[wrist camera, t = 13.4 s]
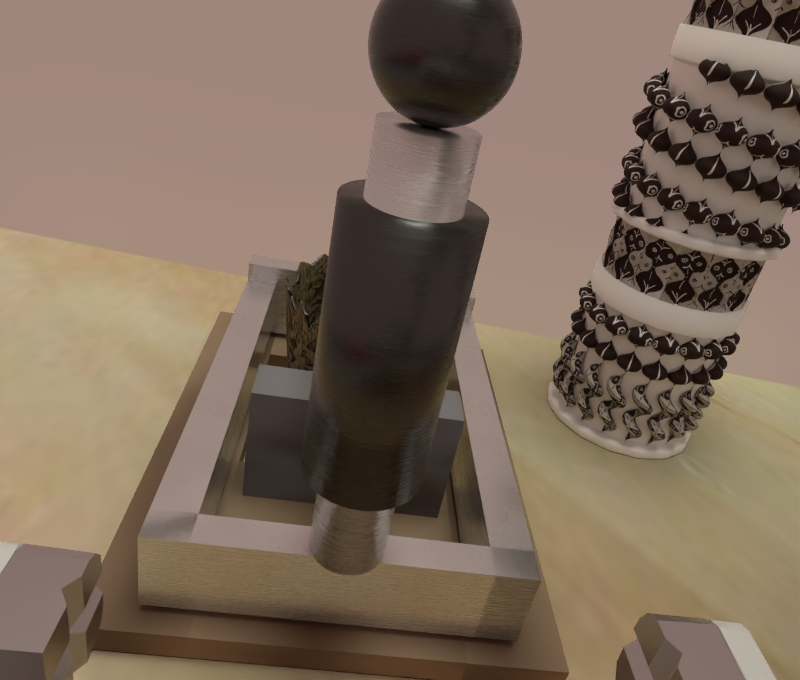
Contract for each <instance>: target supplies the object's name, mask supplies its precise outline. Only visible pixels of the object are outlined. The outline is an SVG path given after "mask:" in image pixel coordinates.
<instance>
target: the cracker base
mask: <svg viewBox="0 0 800 680" xmlns="http://www.w3.org/2000/svg"><path fill="white" fill-rule="evenodd" d="M233 314H234V313H227V312H220V314H219V316H218V318H217V320H216V323H215V325H214V327H213V329H212V331H211V333H210V335H209V337H208V340H207V342H206V344H205V346H204V348H203V350H202V352H201V354H200V357H199V359H198V361H197V363H196V365H195V367H194V369H193V371H192V374H191V376H190V378H189V380H188V382H187V384H186V386H185V388H184V390H183V393H182V395H181V397H180V399H179V401H178V403H177V405H176V407H175V410H174V412H173V414H172V416H171V418H170V420H169V422H168V424H167V427H166V429H165V431H164V433H163V435H162V437H161V439H160V441H159V444H158V446H157V448H156V450H155V452H154V454H153V456H152V458H151V460H150V463H149V465H148V467H147V469H146V471H145V473H144V475H143V477H142V480H141V482H140V484H139V486H138V488H137V490H136V492H135V494H134V497H133V499H132V501H131V503H130V505H129V507H128V509H127V511H126V514H125V516H124V518H123V520H122V522H121V524H120V526H119V528H118V530H117V533H116V535H115V537H114V539H113V541H112V543H111V545H110V547H109V550H108V552H107V554H106V556H105V558H104V560H103V562H102V564H101V565H102V573H101V575H100V577H99V579H98V581H97V583H96V586H97V587H98V588H99V589H100V590H101V591H102V592H103V612H102V620H101V624H100V628H99V631H98V635H97V638H96V642H95V645H94V647H93V649H96V650H107V651H119V652H130V653H141V654H152V655H163V656H175V657H186V658H197V659H208V660H220V661H231V662H242V663H253V664H264V665H276V666H287V667H298V668H309V669H321V670H332V671H343V672H354V673H365V674H377V675H388V676H399V677H410V678H422V679H433V680H566V678H567V676H568V674H569V671H568V667H567V663H566V659H565V656H564V652H563V648H562V644H561V641H560V637H559V633H558V630H557V626H556V622H555V618H554V615H553V611H552V607H551V603H550V600H549V596H548V592H547V588H546V585H545V581H544V577H543V574H542V570H541V566H540V562H539V559H538V555H537V551H536V547H535V544H534V540H533V536H532V533H531V529H530V525H529V521H528V518H527V514H526V510H525V506H524V503H523V499H522V495H521V492H520V488H519V484H518V480H517V477H516V473H515V469H514V465H513V462H512V458H511V454H510V450H509V447H508V443H507V439H506V436H505V432H504V428H503V424H502V421H501V417H500V413H499V409H498V406H497V402H496V398H495V395H494V391H493V387H492V383H491V380H490V376H489V372H488V368H487V365H486V361H485V357H484V353H483V350H481V353H482V356H483V360H484V364H485V368H486V372H487V375H488V379H489V383H490V387H491V391H492V394H493V398H494V402H495V406H496V410H497V413H498V417H499V421H500V425H501V429H502V432H503V436H504V440H505V444H506V448H507V451H508V455H509V459H510V463H511V467H512V470H513V474H514V478H515V482H516V486H517V489H518V493H519V497H520V501H521V505H522V508H523V512H524V516H525V520H526V524H527V527H528V531H529V535H530V539H531V543H532V546H533V550H534V554H535V558H536V562H537V565H538V569H539V573H540V577H541V580H542V581H541V583H540V586H539V588H538V590H537V593H536V595H535V598H534V600H533V603H532V605H531V608H530V610H529V612H528V615H527V617H526V620H525V622H524V625H523V627H522V629H521V632H520V634H519V637H518V639H517V641H510V640H499V639H489V638H479V637H468V636H458V635H448V634H437V633H427V632H417V631H406V630H396V629H386V628H376V627H365V626H355V625H345V624H334V623H324V622H314V621H303V620H293V619H283V618H272V617H262V616H252V615H242V614H231V613H221V612H211V611H200V610H190V609H180V608H169V607H159V606H149V605H139V599H138V542H137V537H138V534H139V532H140V530H141V528H142V525H143V523H144V521H145V518H146V516H147V514H148V511H149V509H150V507H151V504H152V502H153V500H154V497H155V495H156V493H157V490H158V488H159V486H160V483H161V481H162V479H163V476H164V474H165V472H166V469H167V467H168V465H169V463H170V460H171V458H172V456H173V453H174V451H175V449H176V446H177V444H178V442H179V439H180V437H181V435H182V432H183V430H184V428H185V425H186V423H187V421H188V418H189V416H190V414H191V411H192V409H193V407H194V404H195V402H196V400H197V398H198V395H199V393H200V391H201V388H202V386H203V384H204V381H205V379H206V377H207V374H208V372H209V370H210V367H211V365H212V363H213V360H214V358H215V356H216V353H217V351H218V349H219V346H220V344H221V342H222V339H223V337H224V335H225V333H226V330H227V328H228V326H229V323H230V321H231V319H232V316H233ZM312 374H313V371H306V370H299V369H292V368H288V359H287V343H286V334H280V333H273V332H271V334H270V337H269V340H268V344H267V347H266V350H265V354H264V357H263V360H262V363H261V364H260V365H259V368H258V372H257V375H256V378H255V381H254V385H253V388H252V391H251V398H250V403H249V406H248V409H247V413H246V416H245V419H244V422H243V426H242V429H241V432H240V436H239V439H238V442H237V445H236V449H235V452H234V455H233V458H232V462H231V465H230V468H229V472H228V475H227V478H226V481H225V485H224V488H223V491H222V495H221V498H220V501H219V504H218V508H217V511H216V514H215V516H223V517H232V518H241V519H250V520H259V521H267V522H276V523H285V524H294V525H303V526H311V525H312V519H313V513H314V506H315V500H316V494H317V493H316V492H315V491H314V490H313V489H312V488H311V487H310V486H309V484H308V483H307V482H306V480H305V478H304V476H303V474H302V471H301V465H300V464H301V454H302V447H303V440H304V432H305V425H306V418H307V410H308V403H309V396H310V388H311V381H312ZM464 422H465V420H464V415H463V409H462V404H461V399H460V393H459V392H458V391H451V390H446V392H445V396H444V399H443V403H442V407H441V411H440V415H439V419H438V423H437V427H436V431H435V435H434V438H433V442H432V446H431V450H430V454H429V458H428V462H427V466H426V470H425V474H424V477H423V481H422V485H421V487H420V490H419V491H418V493H417V494H416V495H415V496H414V497H413V498H412V499H411V500H409V501H408V502H407V503H405V504H403V505H401V506H398V507H396V508H395V510H394V514H393V518H392V522H391V527H390V531H389V535H392V536H401V537H409V538H418V539H427V540H436V541H445V542H454V543H461V542H460V534H459V527H458V520H457V513H456V506H455V499H454V491H453V484H452V477H451V468H452V465H453V461H454V458H455V454H456V450H457V447H458V443H459V440H460V436H461V433H462V429H463V425H464ZM245 451H246V457H245V462H243V458H244V455H245Z"/></svg>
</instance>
